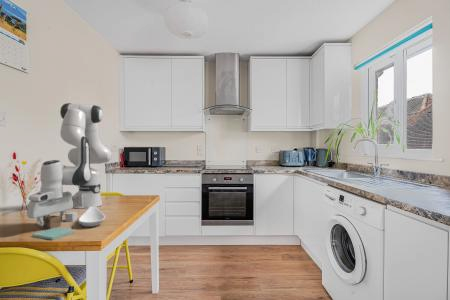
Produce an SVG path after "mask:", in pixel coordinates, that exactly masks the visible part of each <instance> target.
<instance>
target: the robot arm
mask: <svg viewBox="0 0 450 300" xmlns="http://www.w3.org/2000/svg"><path fill="white" fill-rule="evenodd" d="M59 113H60V118H62V119H63V120H62V123H61V126H60V127H61V128H60V132H59V133H60V138H61V139H62V140H63V141H64V142H65V143H66V144H69V145H71V146H73V148H71V149H70V150H69V151H68V153H67V159H68V161H69V162H70V163H72V164H73V165H74V166H70V165H69V166H67V165H64V164H63V163H62V161H61V160H60V159H59V160H58V159H52V160H47V161H44V162H43V163H41V164H42V165H41V167H40V168H41V169H40V178H39V179H40V183H41V185H40V190H39V191H37V192H36V193H34V194H30V195H29V196H28V201H29V202H28V203H27V206H26V207H27V208H26V209H27V210H26V215H27V217H28V218H29V219H36V220H37V219H38V221H39V222H40V225H39V226H40V227H43V226H44V225H45V221H43V220H42V219H43V216H46V215H50V216H51V215H53V214H57V213H60V214H59V216H61V222H62V221H63V220H64V218H65V214H66V211H70V210H73V209H88V208H89V207H95V206H96V207H97V208H98V207H100V206H102V205H103V201H102V193H101V184H100V183H101V179H100V178H101V177H100V176H101V175H100V172H99V171H98V170H97V169H95V168H93V167H91V164H92V165H95V164H96V165H97V164H98V165H99V164H107V163H109V162H110V161H111V160H112V156H113V155H112V151H111V150H110V149H109V148H108V147H106V146H105V145H103V143H102V142H101V139H100V134H99V125H98V123H100V122H101V121H102V119H103V116H104V115H103V109H102V108H101V107H100V106H99V105H95V104H86V103H71V102H69V103H68V102H66V103H64V104H62V106H61V107H60V111H59ZM63 186H77V188H78V191H77V192H76V193H74V194H73V193H72V192H70V191H64V189H63V188H64V187H63Z"/></svg>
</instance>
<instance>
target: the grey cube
mask: <svg viewBox="0 0 450 300" xmlns="http://www.w3.org/2000/svg"><path fill="white" fill-rule="evenodd" d="M78 213H79V212H78V211H70V212H67V213H66V212H65V215H64V220H65V222H67V223H68V222H70V223H71V222H72V223H73V222H75V221H77V220H79V218H78V217H79V216H78V215H79V214H78Z"/></svg>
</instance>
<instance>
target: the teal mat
mask: <svg viewBox="0 0 450 300" xmlns="http://www.w3.org/2000/svg"><path fill="white" fill-rule="evenodd" d="M73 233H75V230H74V229H68V228H67V229H66V228H61V227H57V228H52V229H46V230H45V229H44V230H42V231H39V232H35V233H32V237H33V238H40V239H45V240H51V241H53V240H56V239H59V238H61V237H65V236H67V235H71V234H73Z"/></svg>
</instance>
